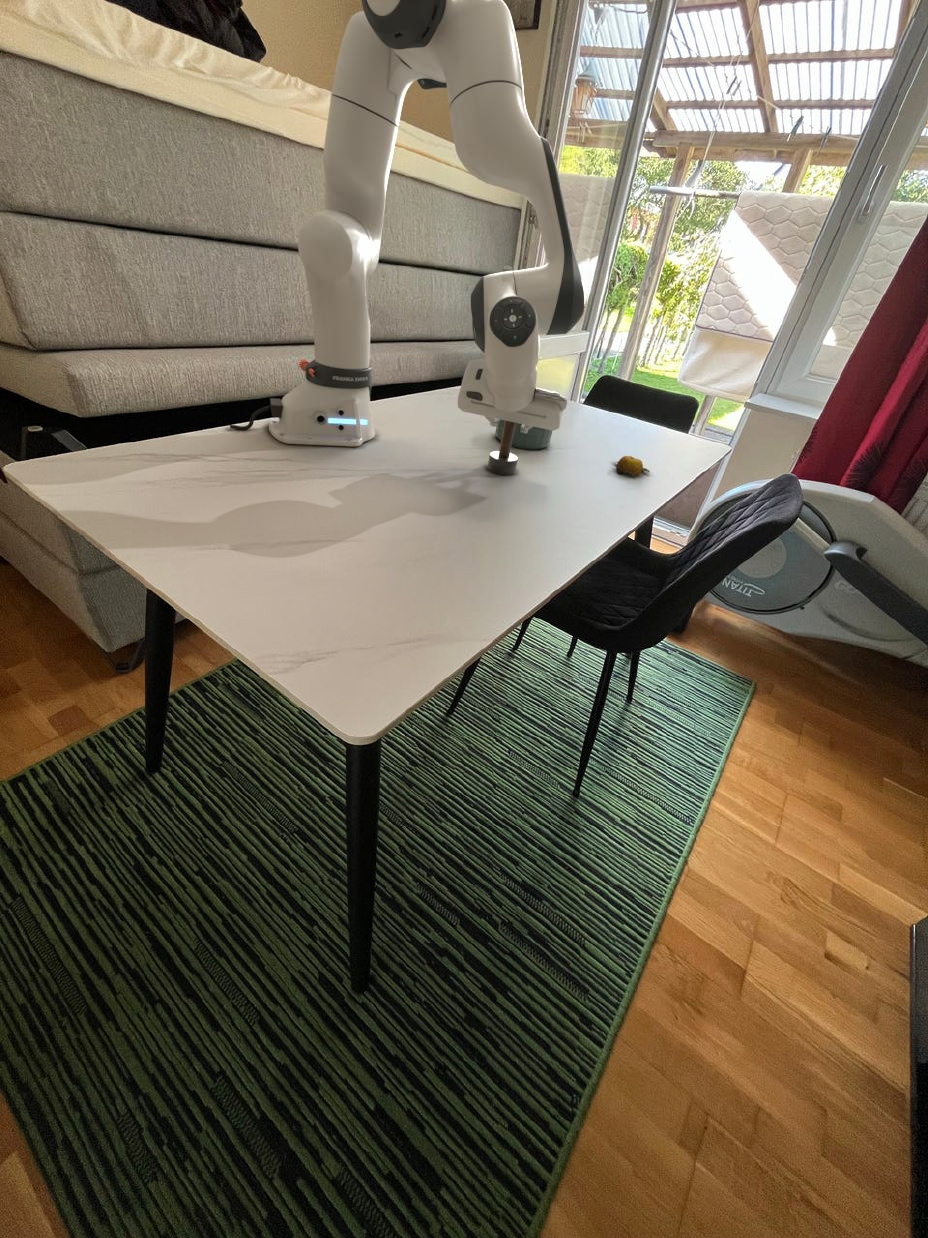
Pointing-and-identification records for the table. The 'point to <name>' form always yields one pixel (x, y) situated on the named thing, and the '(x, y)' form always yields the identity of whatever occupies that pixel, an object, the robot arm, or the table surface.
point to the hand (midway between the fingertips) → (509, 426)
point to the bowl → (526, 436)
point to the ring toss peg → (504, 453)
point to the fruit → (630, 465)
